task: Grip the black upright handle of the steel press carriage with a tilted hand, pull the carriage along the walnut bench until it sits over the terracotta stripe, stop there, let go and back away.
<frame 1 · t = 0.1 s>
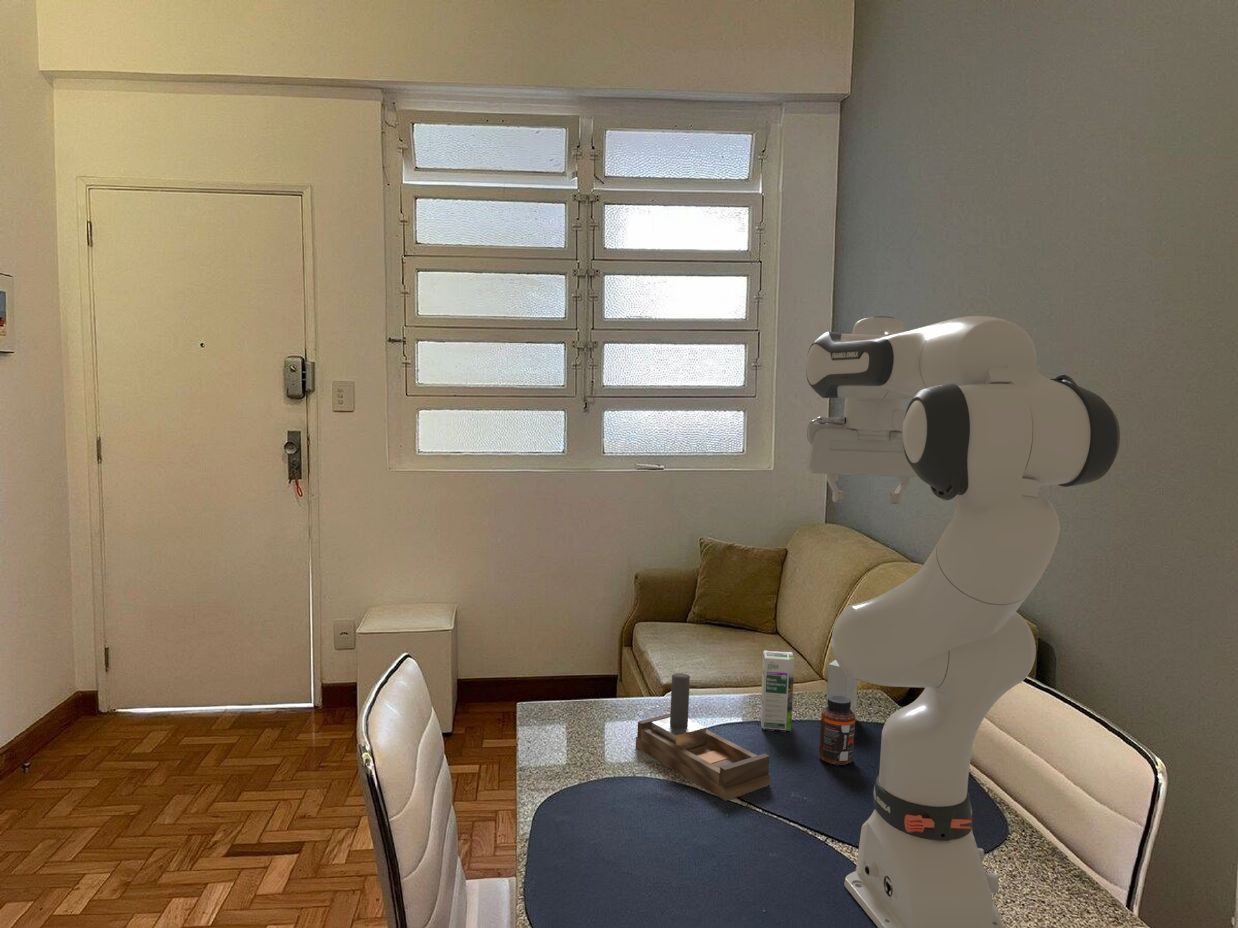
hand: (866, 502, 141), 48 cm above the table, tool pointing down, fingers open, 8 cm apart
press carriage: (679, 708, 154), point 8 cm above the table, slide at 0.0 cm
skincare box: (840, 720, 174), on the table
syrup box: (775, 726, 170), on the table
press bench: (699, 765, 150), on the table
supplement bottle: (835, 760, 155), on the table
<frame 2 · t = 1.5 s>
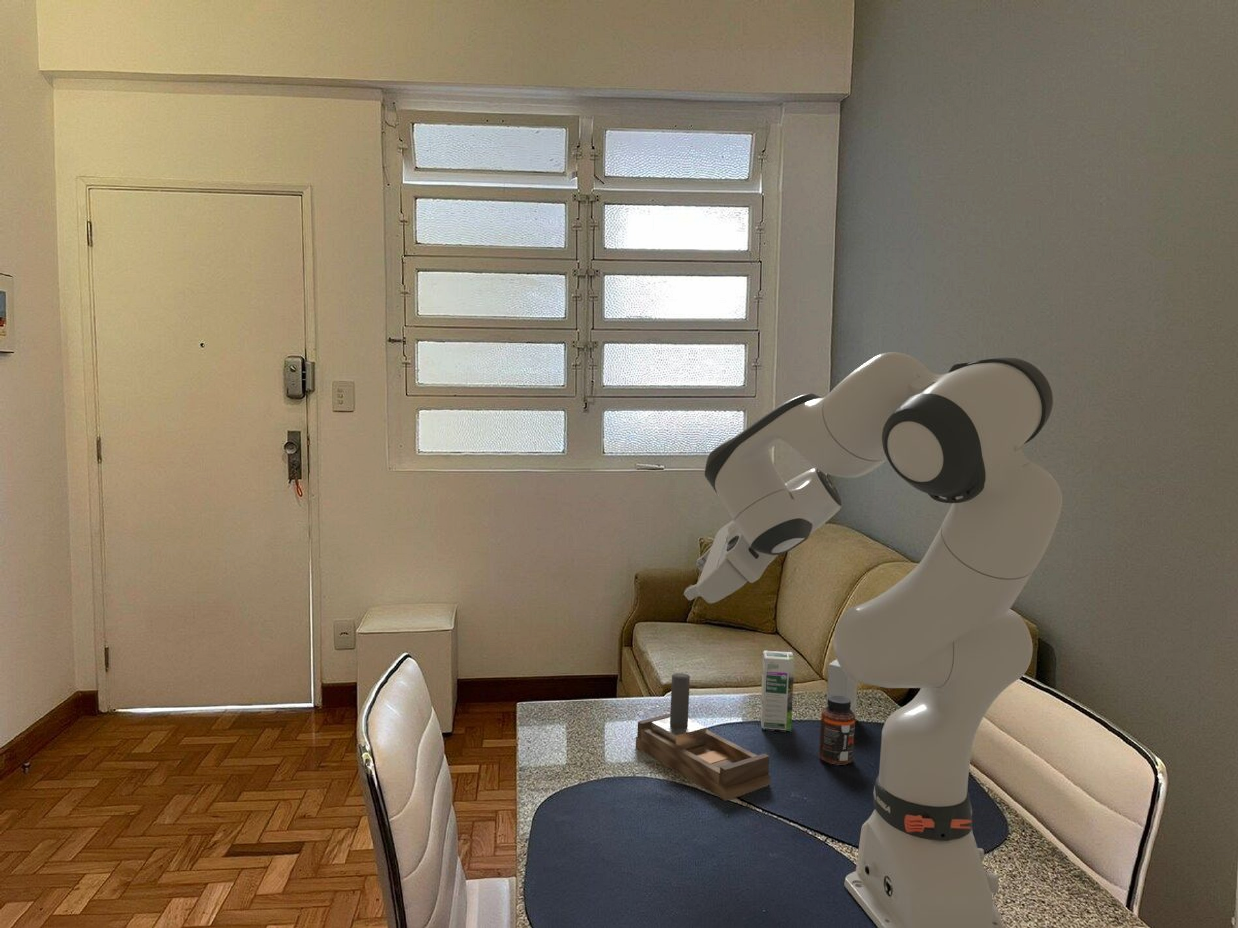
hand: (692, 580, 147), 33 cm above the table, tool tilted 50°, fingers open, 8 cm apart
nothing on the table moved.
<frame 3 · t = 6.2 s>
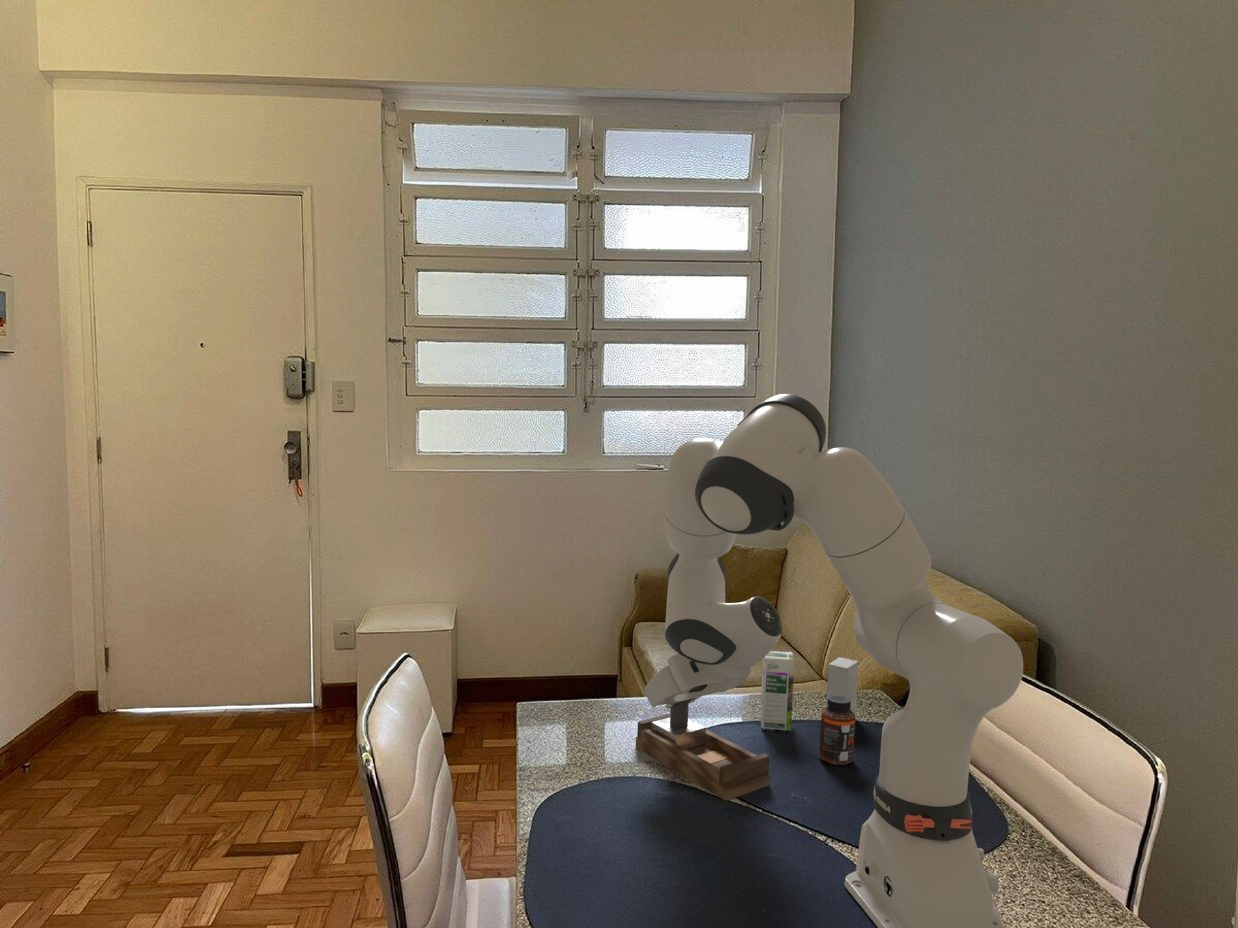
hand: (677, 701, 155), 9 cm above the table, tool tilted 45°, fingers closed on press carriage, 3 cm apart
press carriage: (679, 708, 154), point 8 cm above the table, slide at 0.0 cm, touching gripper
everything else where it was.
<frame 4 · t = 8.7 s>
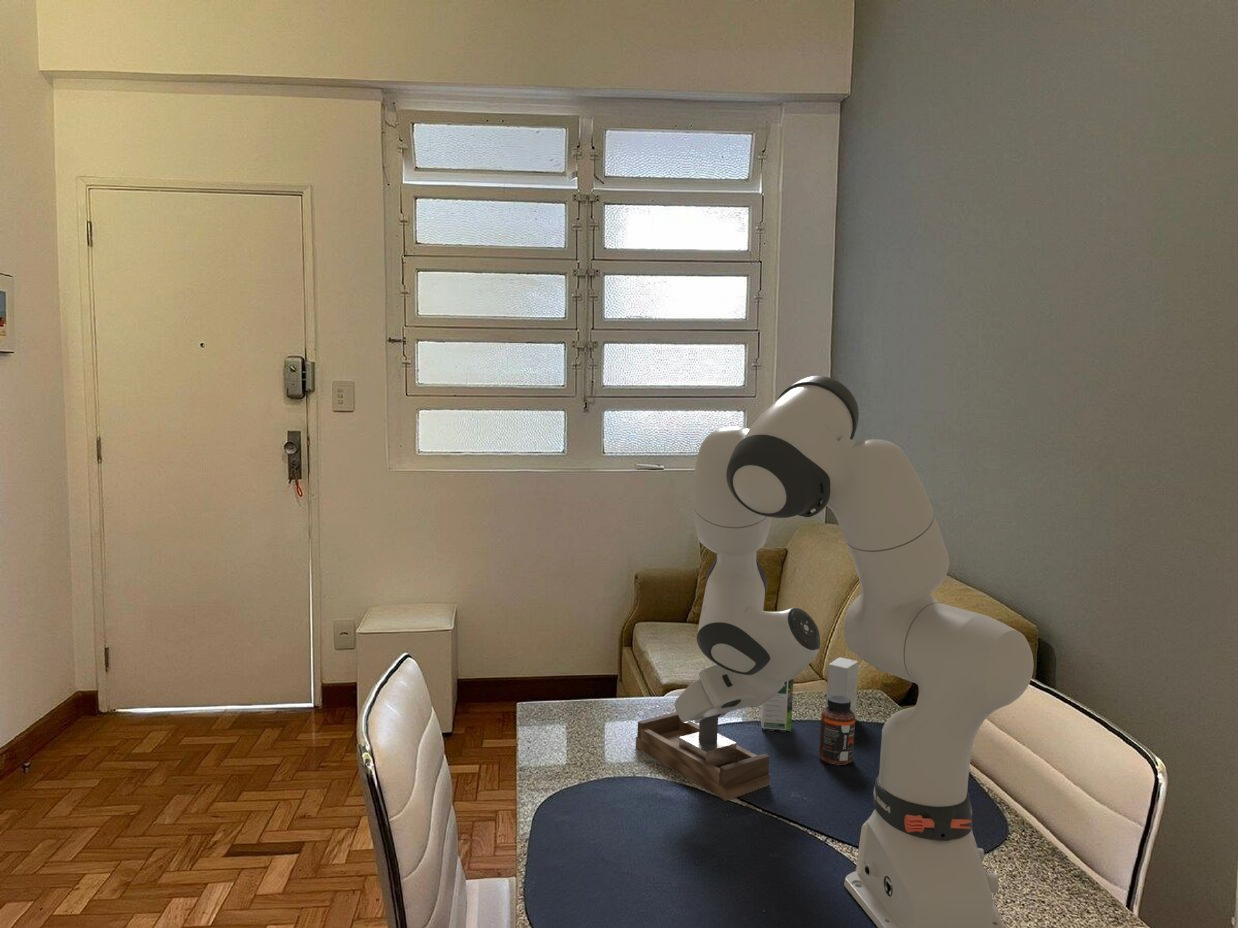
hand: (706, 715, 149), 9 cm above the table, tool tilted 45°, fingers closed on press carriage, 3 cm apart
press carriage: (708, 723, 148), point 8 cm above the table, slide at 7.8 cm, touching gripper
everything else where it was.
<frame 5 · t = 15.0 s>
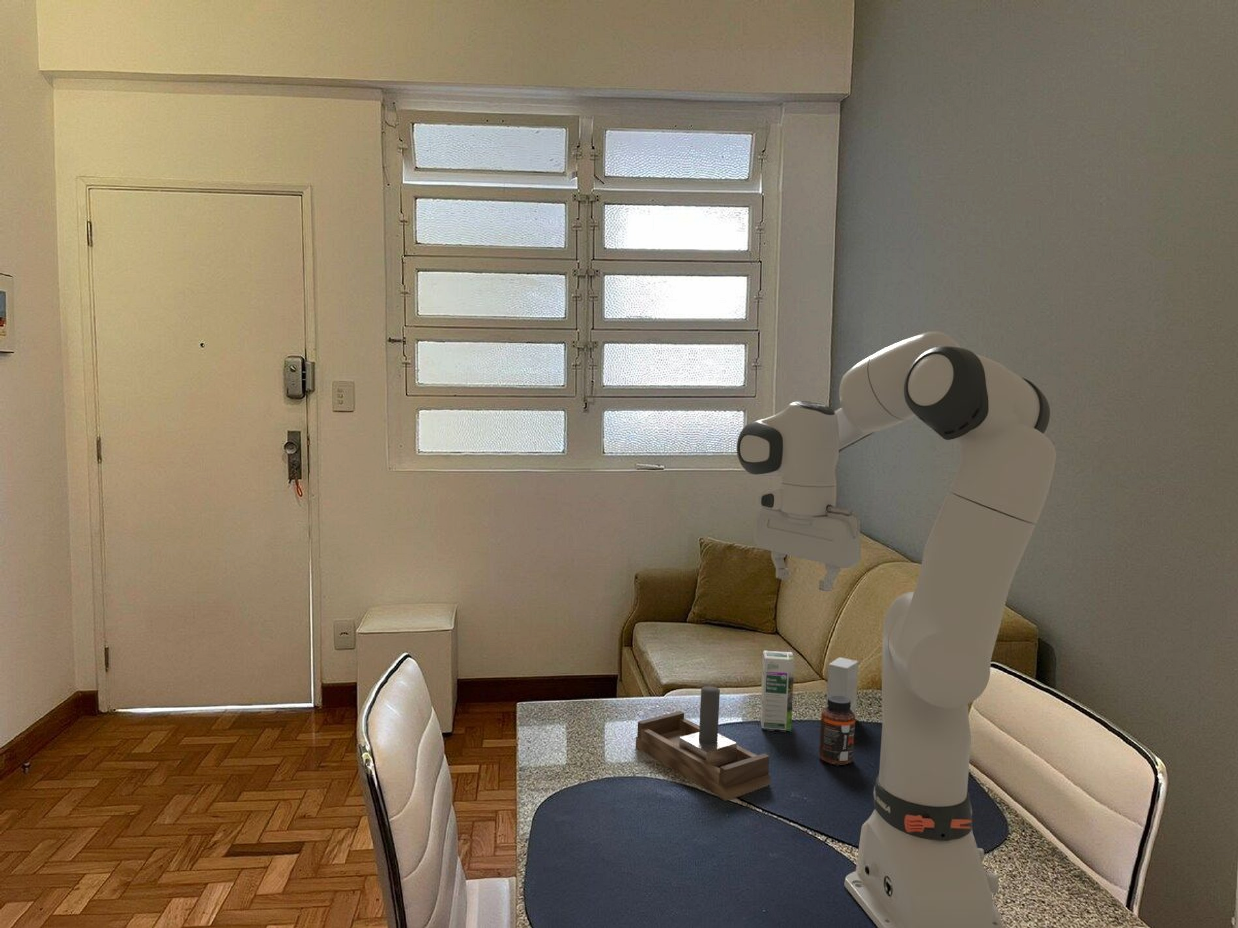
hand: (803, 584, 142), 34 cm above the table, tool pointing down, fingers open, 8 cm apart
press carriage: (708, 723, 148), point 8 cm above the table, slide at 7.9 cm
everything else where it was.
at the end: press carriage slide at 7.9 cm; the gripper is holding nothing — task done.
